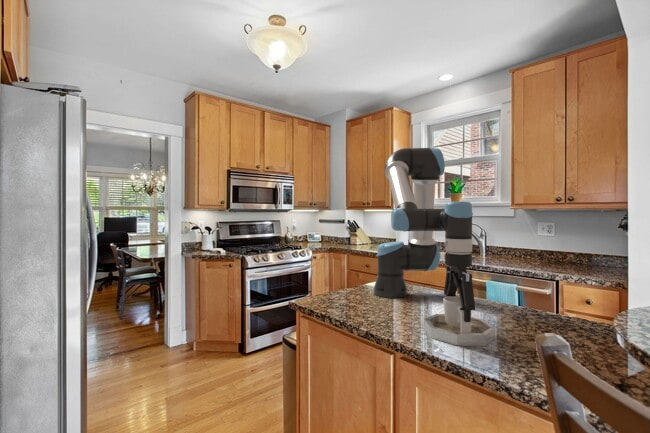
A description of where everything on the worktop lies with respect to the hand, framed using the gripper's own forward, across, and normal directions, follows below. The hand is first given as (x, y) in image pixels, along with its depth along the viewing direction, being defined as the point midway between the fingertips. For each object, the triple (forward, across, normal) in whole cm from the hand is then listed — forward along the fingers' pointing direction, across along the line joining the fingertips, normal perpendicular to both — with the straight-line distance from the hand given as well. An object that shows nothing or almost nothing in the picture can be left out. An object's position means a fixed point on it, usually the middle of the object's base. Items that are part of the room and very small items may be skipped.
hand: (458, 325), depth 98 cm
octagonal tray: (+2, 0, 0) cm, 2 cm away
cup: (+1, 0, 0) cm, 1 cm away
